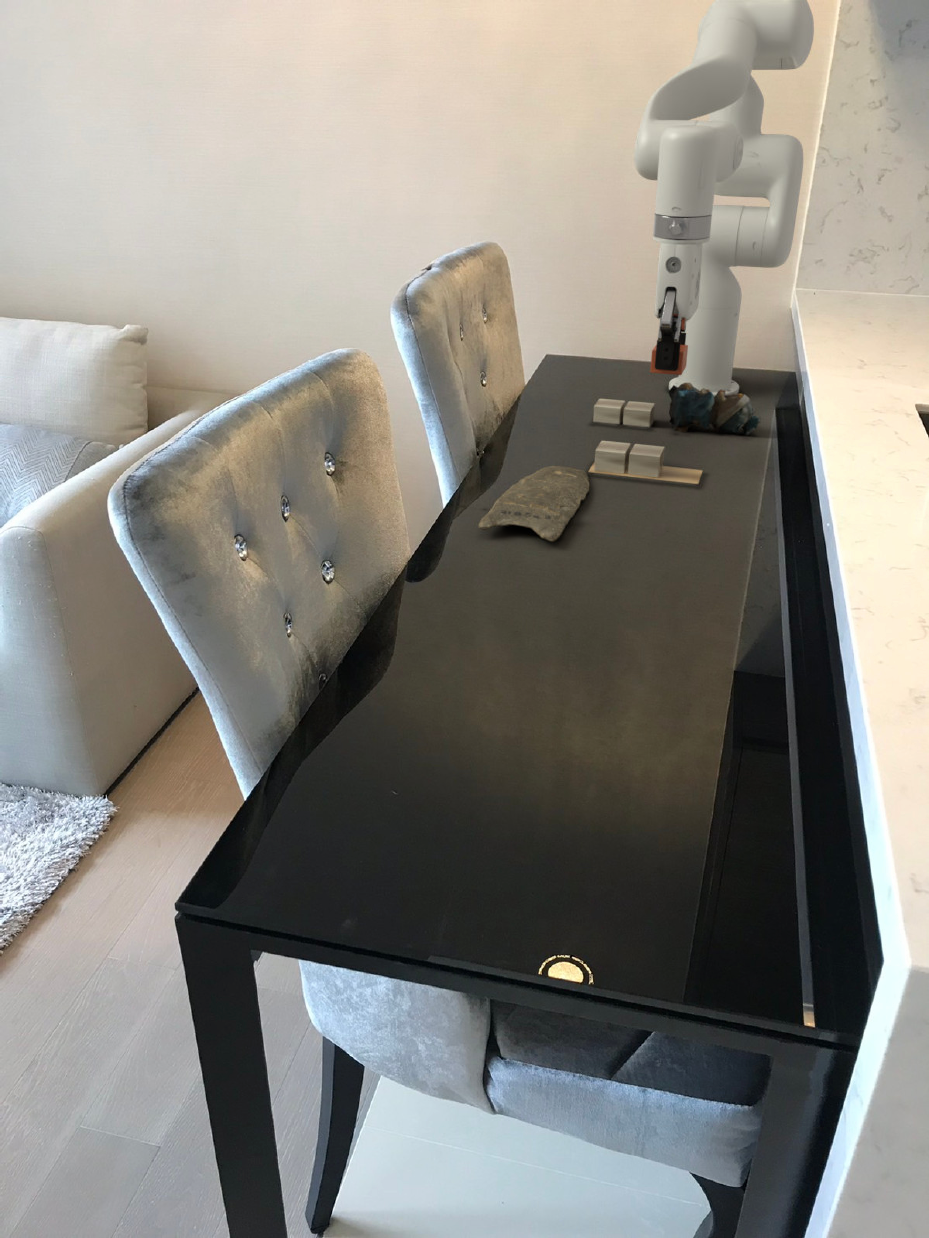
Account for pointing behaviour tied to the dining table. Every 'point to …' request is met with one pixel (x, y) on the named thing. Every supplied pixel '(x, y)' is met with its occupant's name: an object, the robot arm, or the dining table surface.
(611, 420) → the beige grey short block
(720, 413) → the blue brown rough lump
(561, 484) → the stone tool
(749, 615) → the dining table surface
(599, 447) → the pale grey block
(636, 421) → the pale grey block
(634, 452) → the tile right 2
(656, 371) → the orange block
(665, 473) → the board
